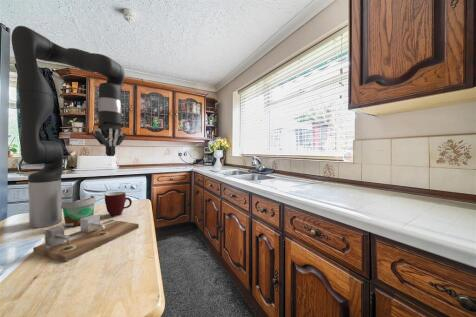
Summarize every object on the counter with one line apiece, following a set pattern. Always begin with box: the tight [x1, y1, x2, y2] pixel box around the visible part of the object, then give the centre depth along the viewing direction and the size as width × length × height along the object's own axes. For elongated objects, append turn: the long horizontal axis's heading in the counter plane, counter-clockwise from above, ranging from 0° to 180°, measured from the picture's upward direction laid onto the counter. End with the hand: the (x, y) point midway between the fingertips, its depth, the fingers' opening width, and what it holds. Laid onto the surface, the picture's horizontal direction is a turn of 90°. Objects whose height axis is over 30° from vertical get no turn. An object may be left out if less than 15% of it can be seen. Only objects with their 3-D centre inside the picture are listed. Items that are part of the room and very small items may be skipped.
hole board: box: [32, 219, 140, 263], centre depth 64 cm, size 14×24×6 cm, turn 162°
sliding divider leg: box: [79, 214, 104, 232], centre depth 65 cm, size 8×4×4 cm, turn 72°
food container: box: [61, 195, 97, 228], centre depth 77 cm, size 12×6×10 cm, turn 168°
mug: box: [104, 191, 133, 217], centre depth 88 cm, size 10×8×10 cm
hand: (110, 156), depth 75 cm, fingers closed
